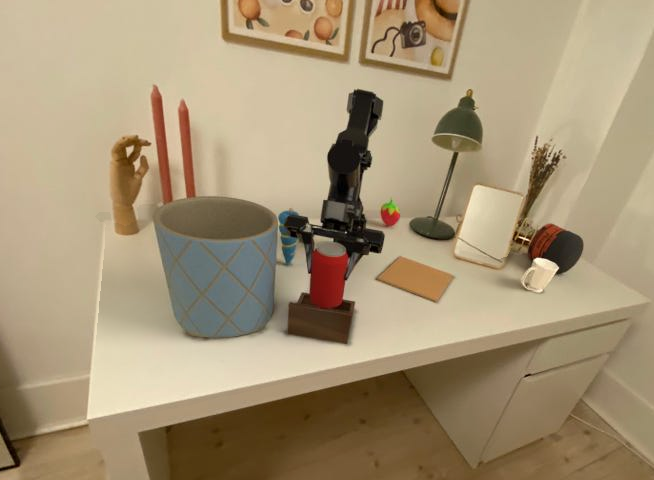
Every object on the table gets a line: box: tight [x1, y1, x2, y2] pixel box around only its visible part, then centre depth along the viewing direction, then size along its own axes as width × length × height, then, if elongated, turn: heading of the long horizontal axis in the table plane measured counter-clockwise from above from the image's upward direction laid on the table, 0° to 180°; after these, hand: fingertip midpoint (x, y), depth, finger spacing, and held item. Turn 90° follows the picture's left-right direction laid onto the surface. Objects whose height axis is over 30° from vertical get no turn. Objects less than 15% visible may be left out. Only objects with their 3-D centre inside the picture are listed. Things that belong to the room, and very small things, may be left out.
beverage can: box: [308, 240, 349, 309], centre depth 72 cm, size 7×7×12 cm
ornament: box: [277, 206, 300, 266], centre depth 89 cm, size 5×5×15 cm
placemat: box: [377, 256, 454, 303], centre depth 100 cm, size 16×16×1 cm
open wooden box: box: [287, 291, 356, 345], centre depth 75 cm, size 12×12×7 cm
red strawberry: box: [380, 196, 401, 227], centre depth 123 cm, size 6×7×10 cm
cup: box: [520, 258, 559, 293], centre depth 104 cm, size 7×10×8 cm
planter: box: [152, 195, 279, 339], centre depth 68 cm, size 19×19×20 cm
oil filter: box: [527, 222, 585, 275], centre depth 118 cm, size 13×12×13 cm
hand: (327, 276), depth 71 cm, fingers closed on beverage can, 7 cm apart
